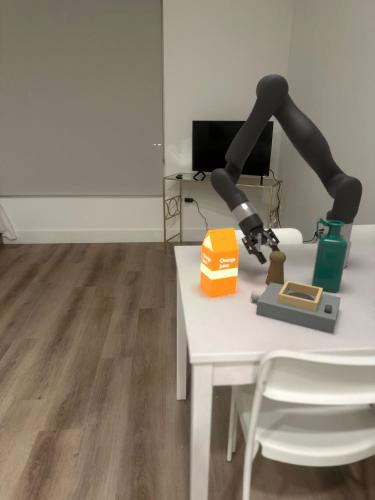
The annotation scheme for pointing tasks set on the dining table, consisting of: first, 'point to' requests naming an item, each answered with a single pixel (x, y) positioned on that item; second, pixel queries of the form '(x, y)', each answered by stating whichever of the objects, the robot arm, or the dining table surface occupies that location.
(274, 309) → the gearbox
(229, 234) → the orange juice
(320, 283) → the pitcher
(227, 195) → the robot arm
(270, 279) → the cork
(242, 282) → the dining table surface
